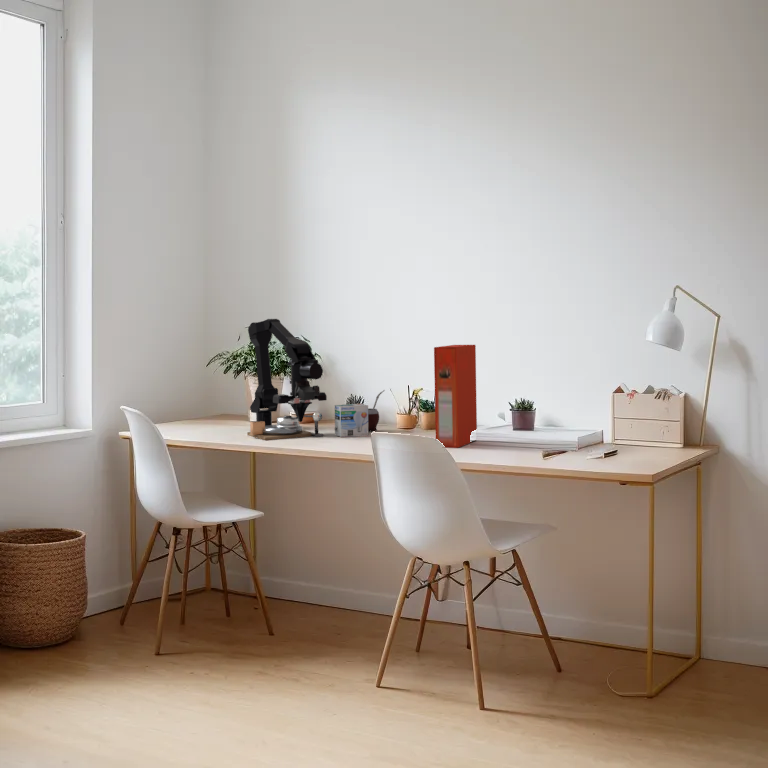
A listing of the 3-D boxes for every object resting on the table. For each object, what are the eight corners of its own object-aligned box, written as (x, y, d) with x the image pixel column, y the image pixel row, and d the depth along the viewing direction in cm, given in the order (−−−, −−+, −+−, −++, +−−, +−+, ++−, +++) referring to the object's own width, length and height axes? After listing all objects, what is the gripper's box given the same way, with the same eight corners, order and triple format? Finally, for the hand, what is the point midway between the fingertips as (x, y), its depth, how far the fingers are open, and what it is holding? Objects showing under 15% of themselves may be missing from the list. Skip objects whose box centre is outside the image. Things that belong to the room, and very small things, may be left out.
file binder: (434, 447, 318) (433, 346, 315) (454, 439, 333) (453, 344, 331) (458, 448, 314) (457, 347, 312) (477, 441, 330) (476, 344, 327)
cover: (272, 426, 353) (271, 415, 352) (293, 424, 357) (293, 414, 357) (281, 428, 345) (281, 417, 345) (303, 427, 350) (303, 416, 349)
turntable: (243, 432, 351) (243, 420, 351) (292, 428, 360) (291, 416, 360) (259, 436, 338) (259, 424, 338) (309, 432, 347) (309, 420, 347)
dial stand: (304, 436, 348) (303, 411, 348) (316, 434, 351) (316, 410, 350) (310, 437, 344) (309, 412, 343) (323, 436, 346) (322, 412, 346)
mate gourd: (356, 431, 360) (355, 389, 359) (373, 429, 365) (372, 388, 364) (368, 433, 354) (367, 391, 353) (385, 431, 359) (385, 389, 358)
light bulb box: (340, 437, 344) (340, 406, 343) (334, 435, 350) (333, 404, 349) (369, 435, 348) (368, 404, 347) (362, 433, 354) (362, 403, 353)
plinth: (247, 435, 353) (247, 432, 353) (296, 431, 362) (296, 428, 362) (264, 440, 339) (264, 437, 339) (315, 436, 348) (315, 433, 348)
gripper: (284, 380, 341) (286, 426, 342) (333, 377, 350) (334, 421, 351) (271, 379, 350) (272, 423, 352) (319, 376, 360) (320, 419, 361)
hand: (300, 421), depth 354 cm, fingers closed
